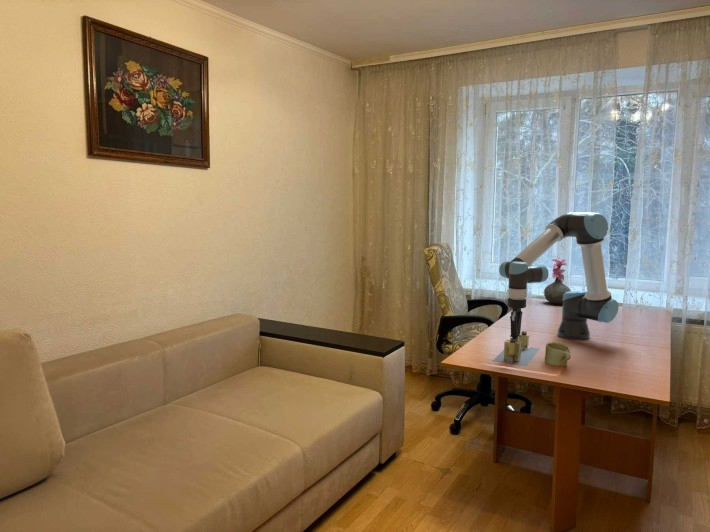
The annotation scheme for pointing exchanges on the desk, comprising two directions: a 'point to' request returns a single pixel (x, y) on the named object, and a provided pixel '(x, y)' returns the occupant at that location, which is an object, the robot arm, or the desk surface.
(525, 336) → the rail
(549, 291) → the vase
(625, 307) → the desk surface
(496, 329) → the desk surface
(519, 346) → the trammel head
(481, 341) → the desk surface
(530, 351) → the board
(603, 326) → the desk surface
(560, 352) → the mug
